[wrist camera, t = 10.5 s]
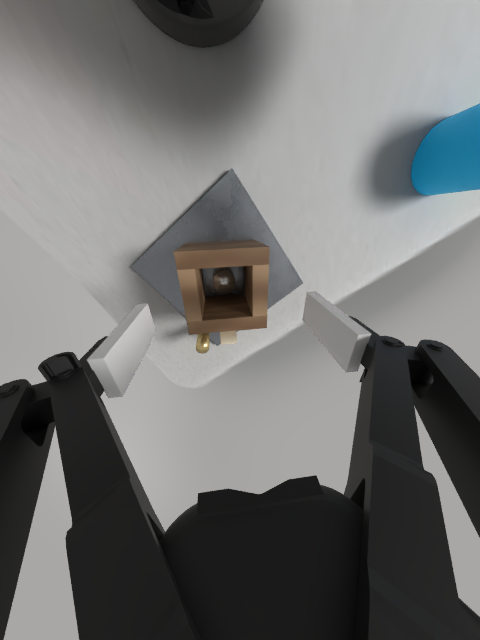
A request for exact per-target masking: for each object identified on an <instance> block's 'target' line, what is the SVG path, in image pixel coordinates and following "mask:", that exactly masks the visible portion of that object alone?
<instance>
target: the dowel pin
mask: <svg viewBox="0 0 480 640" xmlns="http://www.w3.org/2000/svg"><path fill="white" fill-rule="evenodd" d="M209 338H210V333H203V334H198V337H197V344H196V350H197V352H199V353H206V352H207V351H208V350H209Z"/></svg>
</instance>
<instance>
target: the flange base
mask: <svg viewBox="0 0 480 640" xmlns="http://www.w3.org/2000/svg"><path fill="white" fill-rule="evenodd" d="M242 240H256V241H258V242H261V243H263V244H265V245H267V246H269V247H270V253H269V278H268V304H267V309H269V308H270V307H271V306H273V305H274V304H275V303H277V302H278V301H279V300H281V299H282V298H284V297H285V296H286V295H288V294H289V293H290V292H292V291H293V290H294V289H296V288H297V287H298V286H300V285H301V284H303V282H302V280H301V279H300V277H299V275H298V274H297V272H296V271H295V269H294V267H293V266H292V264H291V262H290V261H289V259H288V258H287V256H286V254H285V253H284V251H283V250H282V248H281V246H280V245H279V243H278V241H277V240H276V238H275V237H274V235H273V233H272V232H271V230H270V229H269V227H268V225H267V224H266V222H265V220H264V219H263V217H262V216H261V214H260V212H259V211H258V209H257V208H256V206H255V204H254V203H253V201H252V199H251V198H250V196H249V195H248V193H247V191H246V190H245V188H244V187H243V185H242V183H241V182H240V180H239V178H238V177H237V175H236V174H235V172H234V170H233V169H231V170H230V171H229V172H228V173H227V174H226V175H225V176H224V177H223V178H222V179H220V180H219V181H218V182H217V183H216V184H215V185H214V186H213V187H212V188H211V189H210V190H209V191H208V192H207V193H206V194H205V195H204V196H203V197H202V198H201V199H200V200H199V201H198V202H197V203H196V204H195V205H194V206H193V207H192V208H191V209H190V210H189V211H188V212H187V213H186V214H185V215H184V216H183V217H181V218H180V219H179V220H178V221H177V222H176V223H175V224H174V225H173V226H172V227H171V228H170V229H169V230H168V231H167V232H166V233H165V234H164V235H163V236H162V237H161V238H160V239H159V240H158V241H157V242H156V243H155V244H154V245H153V246H152V247H151V248H150V249H149V250H148V251H147V252H146V253H145V254H144V255H143V256H141V257H140V258H139V259H138V260H137V261H136V262H135V263H134V264H133V265H132V266H131V268H132V269H133V270H135V271H136V272H137V273H138V274H139V275H140V276H141V277H142V278H143V279H144V280H146V281H147V282H148V283H149V284H150V285H151V286H152V287H153V288H154V289H155V290H157V291H158V292H159V293H160V294H161V295H162V296H163V297H164V298H165V299H166V300H168V301H169V302H170V303H171V304H172V305H173V306H174V307H175V308H176V309H177V310H179V311H180V312H181V313H182V314H183V315H184V316H185V317H186V314H185V309H184V304H183V299H182V294H181V288H180V283H179V278H178V273H177V268H176V262H175V257H174V251H175V250H177V249H178V248H179V247H181V246H182V245H183V244H185V243H200V242H221V241H242ZM202 274H203V282H204V289H205V297H206V296H219V295H233V294H244V281H243V266H236V267H219V268H203V269H202ZM237 331H239V330H237ZM237 331H236V332H237ZM209 339H210V340H211V341H213V342H214V343H215V344H216V345H217V346H218V345H219V344H221V338H220V332H215V333H210V338H209Z"/></svg>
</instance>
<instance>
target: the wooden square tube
mask: <svg viewBox="0 0 480 640" xmlns="http://www.w3.org/2000/svg"><path fill="white" fill-rule="evenodd" d="M269 253H270V247H269V246H267V245H265V244H263V243H261V242H258V241H256V240H242V241H221V242H200V243H185V244H183V245H182V246H181V247H179V248H178V249H177V250H175V251H174V257H175V262H176V268H177V273H178V278H179V283H180V288H181V294H182V299H183V304H184V309H185V314H186V320H187V325H188V330H189V335H192V334H203V333H215V332H220V338H221V345H225V344H235V343H237V338H236V331H237V330H248V329H259V328H267V304H268V278H269ZM236 266H243V281H244V294H233V295H219V296H206V297H205V289H204V282H203V274H202V269H203V268H219V267H236Z"/></svg>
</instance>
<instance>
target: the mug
mask: <svg viewBox="0 0 480 640" xmlns="http://www.w3.org/2000/svg"><path fill="white" fill-rule="evenodd" d="M411 179H412V183H413V186H414V188H415V189H416V190H417V192H418V193H421V194H423V195H436V194H444V193H453V192H461V191H469V190H478V189H480V104H478V105H476V106H473V107H471V108H469V109H467V110H464V111H462V112H460V113H458V114H455V115H453V116H451V117H449V118H446V119H444V120H442V121H441V122H440V123H438V124H437V125H436V126H435V127H433V128H432V129H431V130H430V132H429V133H428V134H427V135H426V137H425V138H424V139H423V140H422V142H421V144H420V146H419V148H418V150H417V152H416V154H415V157H414V160H413V164H412V171H411Z"/></svg>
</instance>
